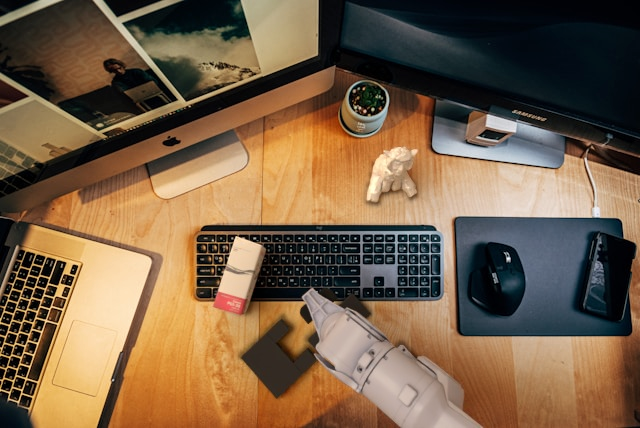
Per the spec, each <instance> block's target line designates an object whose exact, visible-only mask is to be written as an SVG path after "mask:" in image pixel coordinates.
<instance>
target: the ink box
mask: <svg viewBox="0 0 640 428" xmlns="http://www.w3.org/2000/svg"><path fill="white" fill-rule="evenodd" d="M233 240H234V241H233V244H232V246H231V250H230V253H229V256H228V259H227V262H226V265H225V268H224V271H223V275H222V278H221V280H220V283H219V286H218V289H217V293H216V295H215V299H214V302H213V305H212V307H213V308H214V309H218V310H221V311H224V312H228V313H231V314H234V315H236V316H237V315H238V316H242V315H243V314H245V313H247V311H248V308H249V306H250V302H251V299H252V296H253V293H254V290H255V287H256V283H257V280H258V277H259V274H260V271H261V267H262V265H263V261H264V259H265V255H266V251H267V249H266V247H264V246H263V244H259V243H256V242H253V241H252V240H249V239H245V238H242V237H239V236H235V238H234V239H233Z"/></svg>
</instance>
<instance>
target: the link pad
mask: <svg viewBox="0 0 640 428" xmlns="http://www.w3.org/2000/svg"><path fill="white" fill-rule="evenodd" d="M338 306H340V307H342V308H343V309H346V308H349V309H352V310H354V311H356V312H358V313H359V314H361V315H362V316H363V317H365V318H366V319H367V318H369V317H370V316H371V315H372V313H371V311H370V310H369V309H368V308H367V307H366V306H365V305H364V304H363V303H362V302H361V300H359V298H357V297H356V296H355V294H354V293H350V294H349V295H347V297H346V298H345V299H344V300H343V301H342V302H340V303H339V304H338ZM307 341H308V343H309V344H310V345H311V346H312V348H313V349H314V350H315V351H316V352H317V354H319V352H318V351H317V350H316V345H317V344H318V343H319V341H320V339H319V336H318V333H317V330H316V331H314V332H313V333H312V334H311V335H310V336H309V337H308V338H307Z"/></svg>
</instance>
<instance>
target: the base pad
mask: <svg viewBox="0 0 640 428" xmlns="http://www.w3.org/2000/svg"><path fill="white" fill-rule="evenodd" d="M290 330H291V327H290V326H289V325H288V324H287V323H286V322H285V321H284V320H283V318H281V319H279V321H277V323H275V324H274V325H273V326H272V327H271V328H270V329H268V331H267V332H266V333H265V334H263V336H261V338H259V339H258V340H257V341H256V342H255V343H254V344H253V345H251V347H250V348H248V350H247V351H246V352H244V353H243V355H241V357H240V359H241V360H242V361H243V362H244V363H245V364H246V366H247V367H248V368H249V369H250V370H251V371H252V373H253V374H254V375H255V376H256V377H257V378H258V380H259V381H260V382H261V383H262V384H263V385H264V386H265V387H266V389H267V390H268V391H269V392H270V393H271V394H272V395H273V397H274V398H275V399H276V400H277V399H279V398H280V397H281V396H282V395H283V394H284V393H285V392H286V391H287V390H288V389H289V388H290V387H291V386H292V385H293V384H294V383H295V382H296V381H297V380H298V379H299V378H300V377H301V376H303V374H304V373H305V372H306V371H307V370H309V369H310V367H312V365H313V364H314V363H315V362H317V361H318V359H317V358H316V357H315V355H314V353H313V352H312V351H311V350H310V348H309V347H306V348H305V349H304V350H303V351H302V352H301V353H299V355H298V356H297V357H296V358H295V359H293V358H292V357H291V356H290V354H289V353H288V352H287V351H286V350H285V349H284V348H283V347H282V345H281V344H280V343H279V341H280V340H281V339H282V338H283V337H284V336H285V335H287V333H288V332H289V331H290Z"/></svg>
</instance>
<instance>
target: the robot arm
mask: <svg viewBox="0 0 640 428" xmlns="http://www.w3.org/2000/svg"><path fill="white" fill-rule="evenodd" d="M301 299H302V300H303V301H304V304H303V305H302V306H301V307H300V308H299V315H300V317H301V318H302V319H303V320H304V322H305V323H306V324H307V325H309V324H310V323H312V322H313V325H314V328H315V330H316V331H317V333H318V336H319V339H320V341H319V343H318V344H317V345H316V350H317V351H318V352H319V353H318V352H317V351H316V350H315V351H316V352H317V353H316V352H315V353H313V354H314V355H315V357H316V359H317V361H318V362H319V364H320V365H321V366H322V367H323V368H324V369H325V370H326V371H327V372H329V373H330V374H331V375H332V376H333V377H334V378H335V379H336V380H338V381H340V382H341V383H342V384H344V385H346V386H347V387H350V388H351V389H352V390H353V391H355V392H356V393H357V394H359V395H364V396H365V398H367V399H368V400H369V401H370V402H371V403H372V404H373V405H375V406H376V407H377V408H378V409H379V410H380V411H382V413H383V414H385V415H386V416H387V417H388V418H389V419H390V420H392V421H393V422H394V423H395V424H396V425H397V426H398V427H399V428H484V427H483V426H482V425H481V424H480V423H478V422H477V421H476V420H475V419H474V418H473V417H471V416H470V415H468V414H467V413H466V412H465V411H464V401H465V389H464V388H463V387H462V384H461V383H460V382H458V381H457V380H456V379H454V377H452V375H450V374H449V373H448V372H447V371H445V370H444V369H443V368H441V366H439V365H438V364H437V363H435V362H434V361H432V360H431V359H430V358H429V357H427V356H425V355H418V356H417V357H415V356H414V355H413V354H412V353H411V352H410V351H409V350H408V349H407V348H406V346H405V345H404V344H399V345H398V346H397V347H396V345H395V346H394V345H393V343H392V342H391V340H390V339H389V338H388V336H387V335H386V334H385V332H383V331H382V330H381V329H380V328H378V326H376V325H375V324H374V323H373V322H371V321H370V320H368V319H367V318H365V317H363V316H362V315H361V314H359V313H358V312H356V311H354V310H352V309H349V308H346V309H343V308H342V307H340V306H339V304H336V301H337V300H339V299H338V297H337V296H336V294H335V293H334V292H333V291H332V289H330V288H328V287H325V288H322V289H321V290H319V291H316V290H315V289H314V288H313V287H311V288H310V289H309V290H308V291H306V292H305V293H304V294H302V296H301Z"/></svg>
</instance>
